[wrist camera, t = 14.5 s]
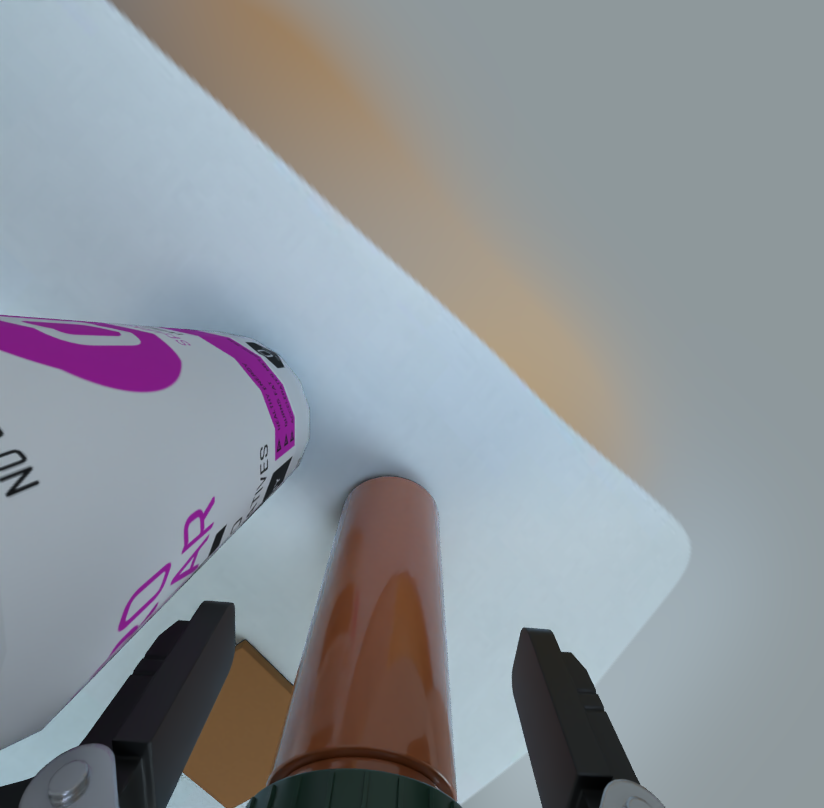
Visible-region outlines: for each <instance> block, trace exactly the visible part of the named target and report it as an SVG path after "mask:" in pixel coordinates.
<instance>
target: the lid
mask: <svg viewBox="0 0 824 808" xmlns="http://www.w3.org/2000/svg"><path fill="white" fill-rule="evenodd" d="M246 808H462V807H461V806H460V805H459V804H458V803H457V802H456V801H455V800H454V799H452V798H451V797H450V796H448V795H447V794H445V793H444V792H442V791H441V790H439V789H437V788H435V787H433V786H431V785H429V784H426V783H424V782H421V781H419V780H416V779H413V778H410V777H406V776H403V775H399V774H394V773H389V772H385V771H377V770H370V769H358V768H336V769H324V770H315V771H309V772H304V773H300V774H296V775H293V776H289V777H286V778H284V779H281V780H279V781H276V782H274V783H272V784H270V785H269V786H267V787H265V788H264V789H262V790H261V791H260V792H258V793H257V794H256V795H255V796H254V797H251V799H250V801H249V803H248V805H247V806H246Z"/></svg>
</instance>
